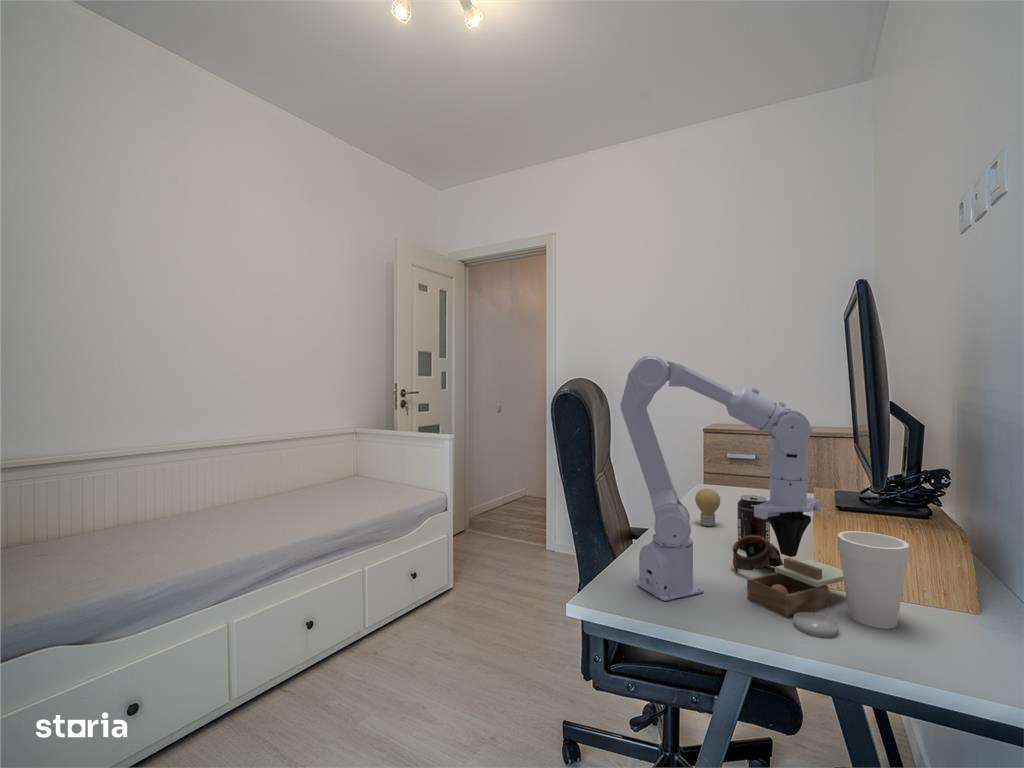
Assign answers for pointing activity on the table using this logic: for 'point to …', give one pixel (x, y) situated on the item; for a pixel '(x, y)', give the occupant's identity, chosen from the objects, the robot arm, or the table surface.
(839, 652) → the table surface
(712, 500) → the light bulb
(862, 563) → the foam cup
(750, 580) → the box
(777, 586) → the ball
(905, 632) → the table surface
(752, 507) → the beverage can
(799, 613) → the grey piece
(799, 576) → the lid
